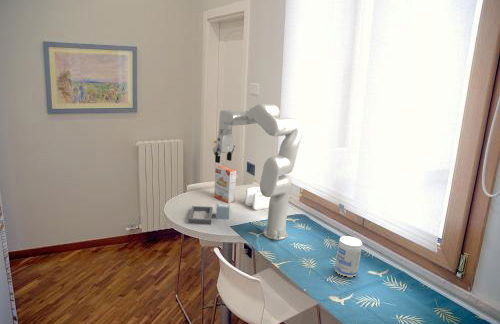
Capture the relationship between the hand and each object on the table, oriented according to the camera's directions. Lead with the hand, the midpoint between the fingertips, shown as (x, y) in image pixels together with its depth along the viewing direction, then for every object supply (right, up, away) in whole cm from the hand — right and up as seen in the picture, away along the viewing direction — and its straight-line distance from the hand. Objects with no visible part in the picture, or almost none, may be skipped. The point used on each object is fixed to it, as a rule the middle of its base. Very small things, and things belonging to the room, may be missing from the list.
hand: (223, 161), depth 213 cm
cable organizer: (+21, -28, +16) cm, 39 cm away
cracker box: (-1, -25, +24) cm, 34 cm away
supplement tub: (+56, -48, -55) cm, 92 cm away
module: (0, -31, -5) cm, 32 cm away
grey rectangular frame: (-12, -31, -7) cm, 34 cm away
